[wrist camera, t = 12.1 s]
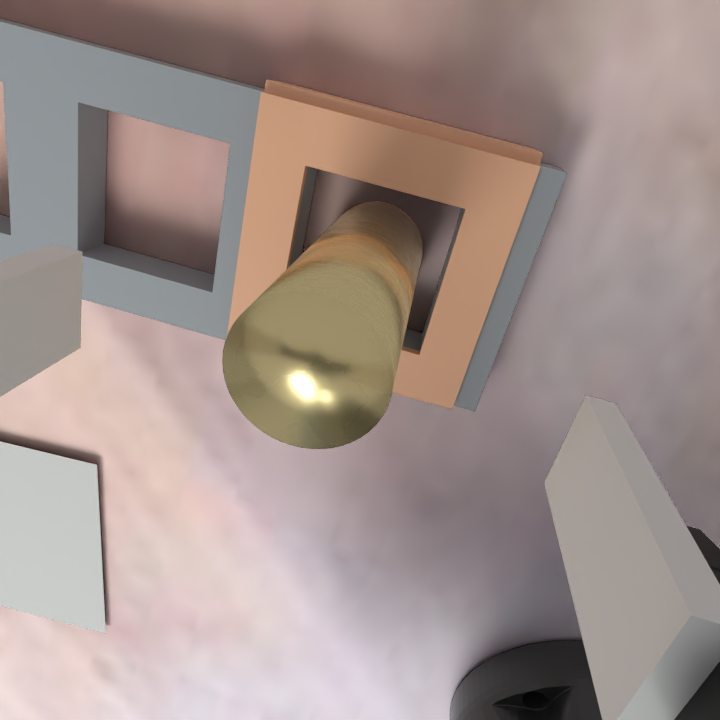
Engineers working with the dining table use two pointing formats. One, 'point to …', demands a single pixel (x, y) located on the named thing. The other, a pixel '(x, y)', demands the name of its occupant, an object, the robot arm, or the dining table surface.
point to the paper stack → (50, 537)
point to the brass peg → (328, 332)
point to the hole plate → (266, 195)
